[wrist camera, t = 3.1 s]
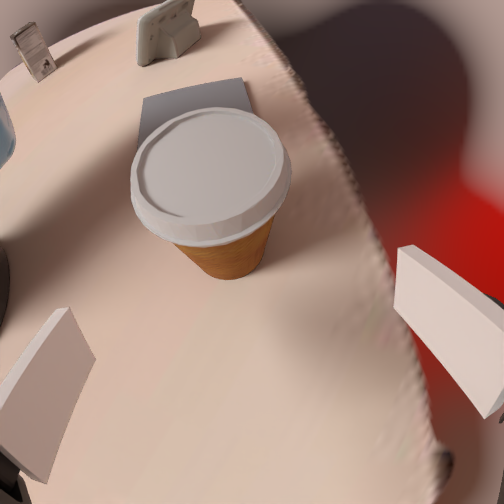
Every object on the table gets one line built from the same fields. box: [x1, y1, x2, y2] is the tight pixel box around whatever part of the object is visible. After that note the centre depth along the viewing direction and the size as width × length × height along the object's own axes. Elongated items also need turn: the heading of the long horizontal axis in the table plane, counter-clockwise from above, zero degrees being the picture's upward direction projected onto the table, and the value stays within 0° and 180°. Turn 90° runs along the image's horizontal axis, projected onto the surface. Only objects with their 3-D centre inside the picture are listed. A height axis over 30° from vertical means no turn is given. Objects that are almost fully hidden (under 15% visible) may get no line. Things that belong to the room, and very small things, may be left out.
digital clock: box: [136, 0, 201, 66], centre depth 38 cm, size 16×9×11 cm, turn 148°
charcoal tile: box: [137, 77, 253, 151], centre depth 32 cm, size 14×14×1 cm
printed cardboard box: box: [10, 22, 57, 82], centre depth 40 cm, size 9×6×16 cm
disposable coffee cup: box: [130, 107, 292, 280], centre depth 20 cm, size 10×10×12 cm
